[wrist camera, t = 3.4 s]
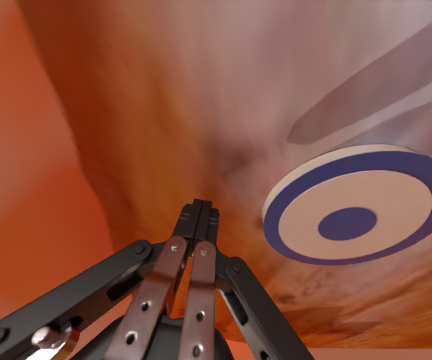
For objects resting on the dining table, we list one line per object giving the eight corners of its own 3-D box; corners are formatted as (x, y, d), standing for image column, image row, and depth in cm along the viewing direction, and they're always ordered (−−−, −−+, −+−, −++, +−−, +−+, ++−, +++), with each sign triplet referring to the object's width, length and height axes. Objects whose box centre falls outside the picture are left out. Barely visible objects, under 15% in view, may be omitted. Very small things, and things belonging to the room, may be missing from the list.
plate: (498, 162, 11) (530, 173, 9) (360, 263, 19) (368, 275, 18) (296, 128, 11) (304, 134, 10) (246, 242, 19) (247, 253, 18)
